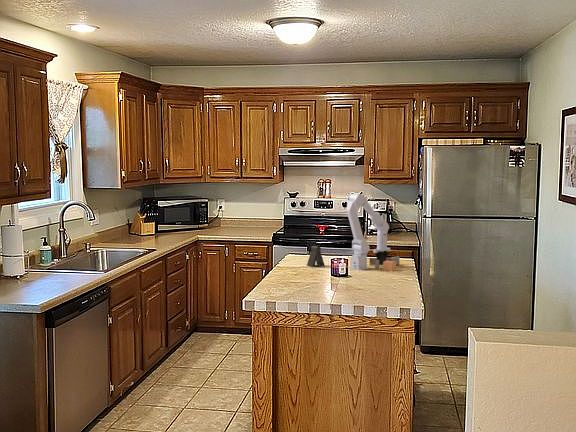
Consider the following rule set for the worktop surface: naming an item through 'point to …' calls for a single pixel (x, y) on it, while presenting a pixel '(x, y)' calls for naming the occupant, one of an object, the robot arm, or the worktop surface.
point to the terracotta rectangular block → (389, 265)
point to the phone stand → (315, 257)
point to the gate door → (372, 260)
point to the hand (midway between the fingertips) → (381, 264)
